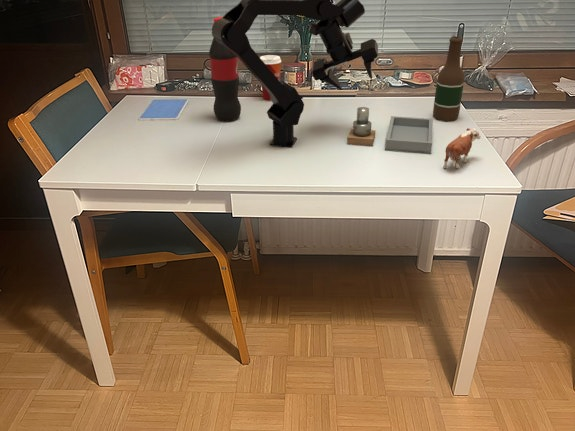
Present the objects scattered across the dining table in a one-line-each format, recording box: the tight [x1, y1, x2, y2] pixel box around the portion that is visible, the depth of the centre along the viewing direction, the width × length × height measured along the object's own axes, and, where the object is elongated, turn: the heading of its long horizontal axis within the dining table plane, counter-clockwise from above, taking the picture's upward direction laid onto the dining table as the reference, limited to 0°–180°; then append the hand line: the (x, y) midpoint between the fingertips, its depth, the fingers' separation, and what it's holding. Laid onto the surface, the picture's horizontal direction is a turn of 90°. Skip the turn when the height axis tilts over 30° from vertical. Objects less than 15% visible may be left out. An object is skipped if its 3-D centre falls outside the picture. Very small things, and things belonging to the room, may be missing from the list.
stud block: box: [346, 128, 376, 147], centre depth 149 cm, size 7×7×2 cm
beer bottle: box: [432, 36, 465, 122], centre depth 159 cm, size 8×8×24 cm
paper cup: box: [259, 54, 282, 102], centre depth 180 cm, size 8×8×14 cm
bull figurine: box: [443, 127, 481, 170], centre depth 133 cm, size 4×13×8 cm, turn 134°
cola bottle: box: [208, 16, 242, 122], centre depth 159 cm, size 8×8×30 cm
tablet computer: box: [137, 98, 189, 122], centre depth 174 cm, size 19×13×1 cm, turn 178°
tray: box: [384, 115, 434, 155], centre depth 149 cm, size 19×12×3 cm, turn 166°
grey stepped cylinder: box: [352, 106, 372, 137], centre depth 147 cm, size 5×5×7 cm
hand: (356, 83), depth 152 cm, fingers open, 9 cm apart
